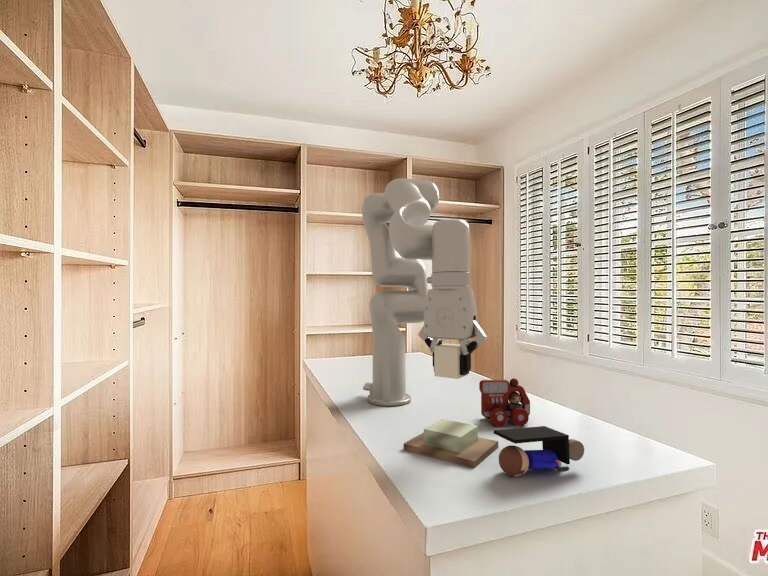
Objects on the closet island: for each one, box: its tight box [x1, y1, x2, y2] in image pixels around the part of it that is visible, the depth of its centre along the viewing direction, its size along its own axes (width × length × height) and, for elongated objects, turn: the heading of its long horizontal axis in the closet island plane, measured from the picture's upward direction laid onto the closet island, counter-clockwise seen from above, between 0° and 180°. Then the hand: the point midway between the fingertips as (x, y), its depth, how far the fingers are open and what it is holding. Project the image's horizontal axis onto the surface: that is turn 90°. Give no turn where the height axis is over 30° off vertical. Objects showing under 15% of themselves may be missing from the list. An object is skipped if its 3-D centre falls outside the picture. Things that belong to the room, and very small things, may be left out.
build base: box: [403, 418, 499, 469], centre depth 84 cm, size 15×12×4 cm
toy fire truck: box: [478, 377, 531, 428], centre depth 101 cm, size 7×12×10 cm, turn 97°
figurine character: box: [492, 425, 585, 477], centre depth 74 cm, size 7×8×15 cm
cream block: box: [433, 343, 469, 380], centre depth 84 cm, size 5×5×6 cm
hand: (451, 371), depth 84 cm, fingers closed on cream block, 5 cm apart
